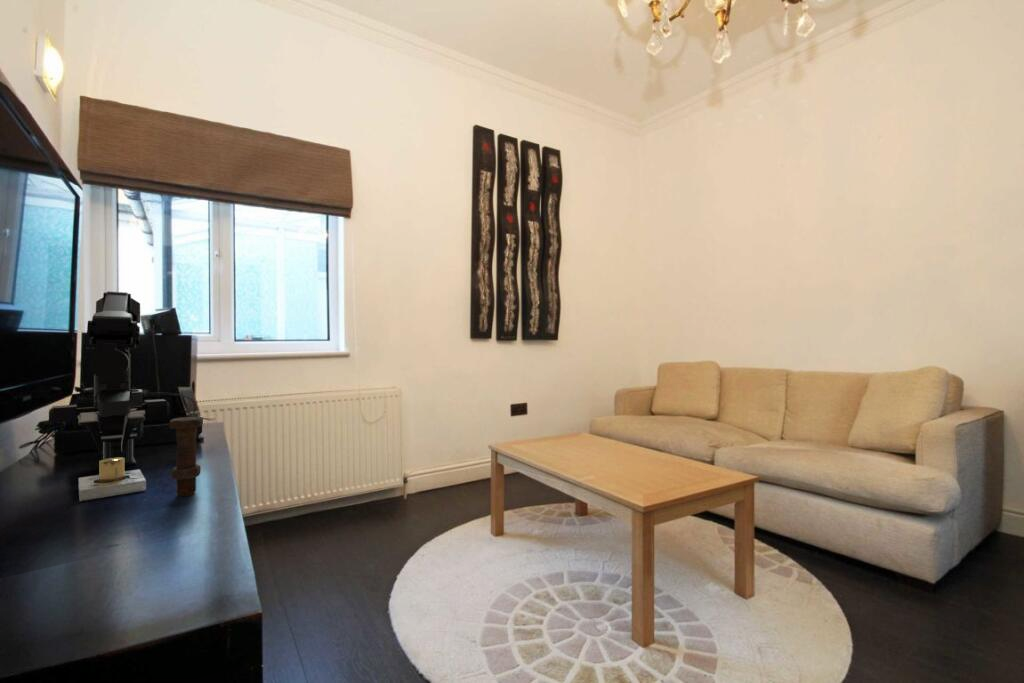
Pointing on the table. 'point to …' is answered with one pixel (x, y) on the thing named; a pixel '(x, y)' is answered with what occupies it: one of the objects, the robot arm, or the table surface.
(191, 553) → the table surface
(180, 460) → the bolt
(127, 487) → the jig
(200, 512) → the table surface
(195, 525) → the table surface
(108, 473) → the bushing
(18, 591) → the table surface
